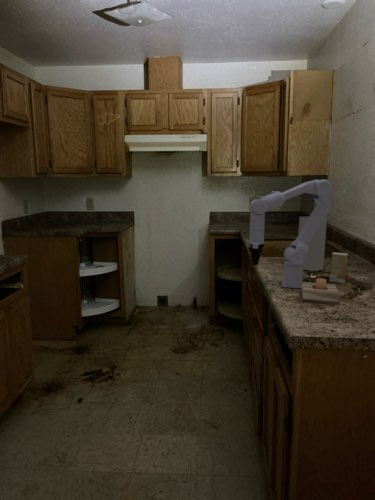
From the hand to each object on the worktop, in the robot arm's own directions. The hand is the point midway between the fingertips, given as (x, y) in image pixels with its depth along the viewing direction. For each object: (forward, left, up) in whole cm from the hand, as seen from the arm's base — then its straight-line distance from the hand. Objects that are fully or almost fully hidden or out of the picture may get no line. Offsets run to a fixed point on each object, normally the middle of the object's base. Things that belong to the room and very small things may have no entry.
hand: (255, 263), depth 154 cm
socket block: (+11, +24, -9) cm, 28 cm away
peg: (+11, +24, -8) cm, 28 cm away
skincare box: (-16, +34, -10) cm, 39 cm away
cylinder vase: (-38, +24, -10) cm, 46 cm away
